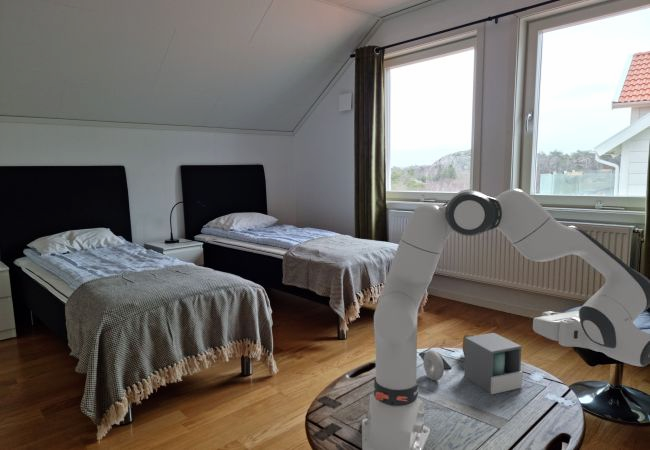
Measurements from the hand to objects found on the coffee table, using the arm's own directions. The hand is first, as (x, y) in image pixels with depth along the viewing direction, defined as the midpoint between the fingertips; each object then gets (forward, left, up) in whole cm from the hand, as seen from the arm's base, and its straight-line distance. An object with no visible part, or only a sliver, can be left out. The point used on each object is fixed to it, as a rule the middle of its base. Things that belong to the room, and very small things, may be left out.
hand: (545, 314), depth 130 cm
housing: (+17, +12, -30) cm, 37 cm away
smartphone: (+29, +31, -31) cm, 53 cm away
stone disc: (+33, +18, -30) cm, 48 cm away
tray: (+16, +11, -30) cm, 36 cm away
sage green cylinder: (+15, +11, -28) cm, 34 cm away
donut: (+14, +31, -30) cm, 46 cm away
